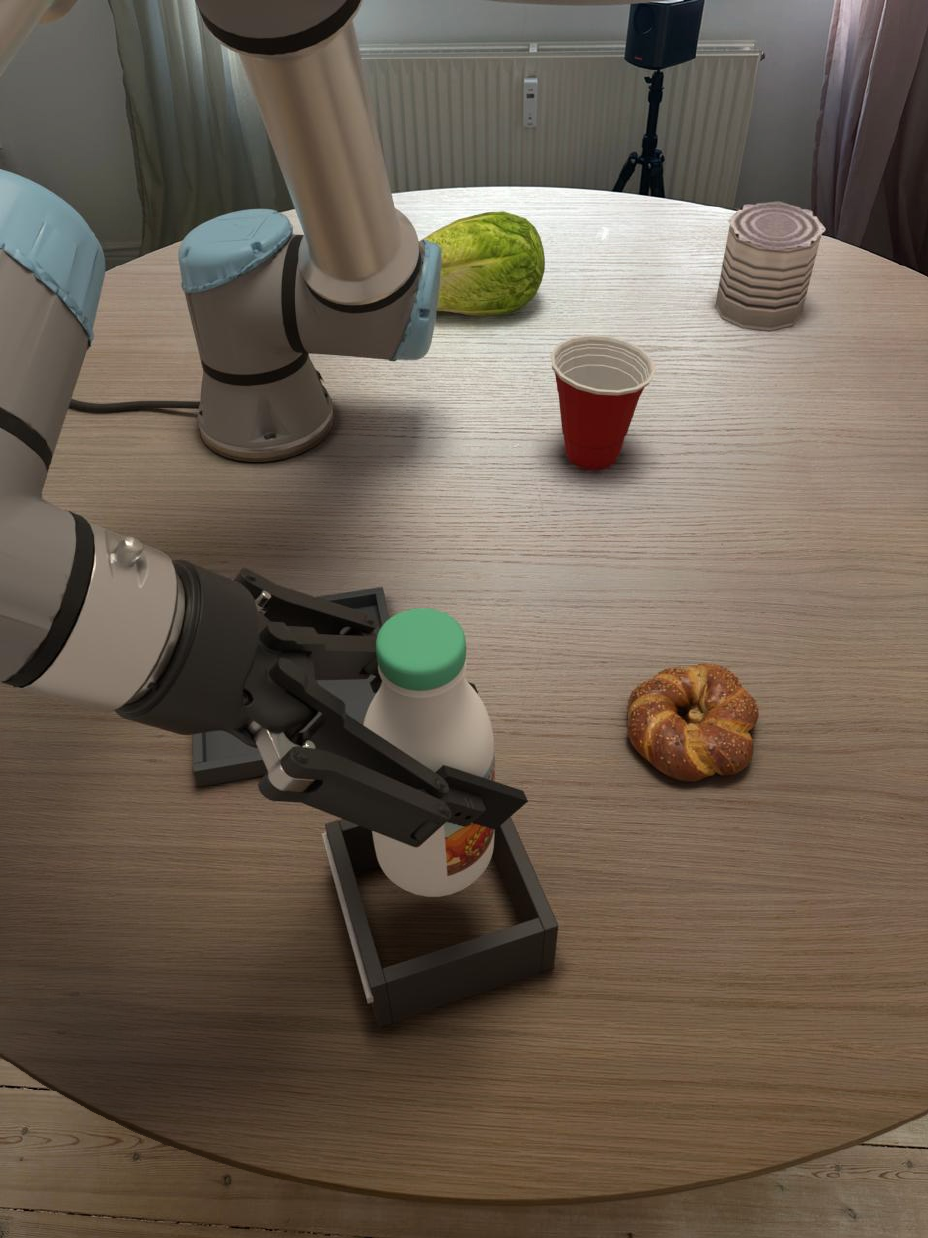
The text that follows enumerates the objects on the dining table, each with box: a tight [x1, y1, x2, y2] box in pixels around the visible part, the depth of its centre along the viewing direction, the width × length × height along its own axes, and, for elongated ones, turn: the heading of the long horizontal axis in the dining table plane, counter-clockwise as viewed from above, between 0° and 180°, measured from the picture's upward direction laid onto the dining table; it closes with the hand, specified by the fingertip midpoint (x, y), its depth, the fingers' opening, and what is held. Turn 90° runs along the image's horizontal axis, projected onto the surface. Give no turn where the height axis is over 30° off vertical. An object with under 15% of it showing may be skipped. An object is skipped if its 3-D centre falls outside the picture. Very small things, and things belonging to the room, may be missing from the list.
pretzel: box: [626, 663, 760, 782], centre depth 80 cm, size 12×11×4 cm
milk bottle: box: [363, 607, 496, 898], centre depth 57 cm, size 8×8×20 cm
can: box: [714, 200, 827, 332], centre depth 127 cm, size 11×11×12 cm
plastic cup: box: [550, 334, 657, 471], centre depth 104 cm, size 11×11×12 cm
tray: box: [191, 586, 391, 787], centre depth 85 cm, size 18×18×2 cm
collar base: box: [321, 816, 559, 1028], centre depth 68 cm, size 13×13×6 cm
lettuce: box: [419, 210, 546, 317], centre depth 129 cm, size 13×22×14 cm
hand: (484, 753), depth 58 cm, fingers closed on milk bottle, 8 cm apart
